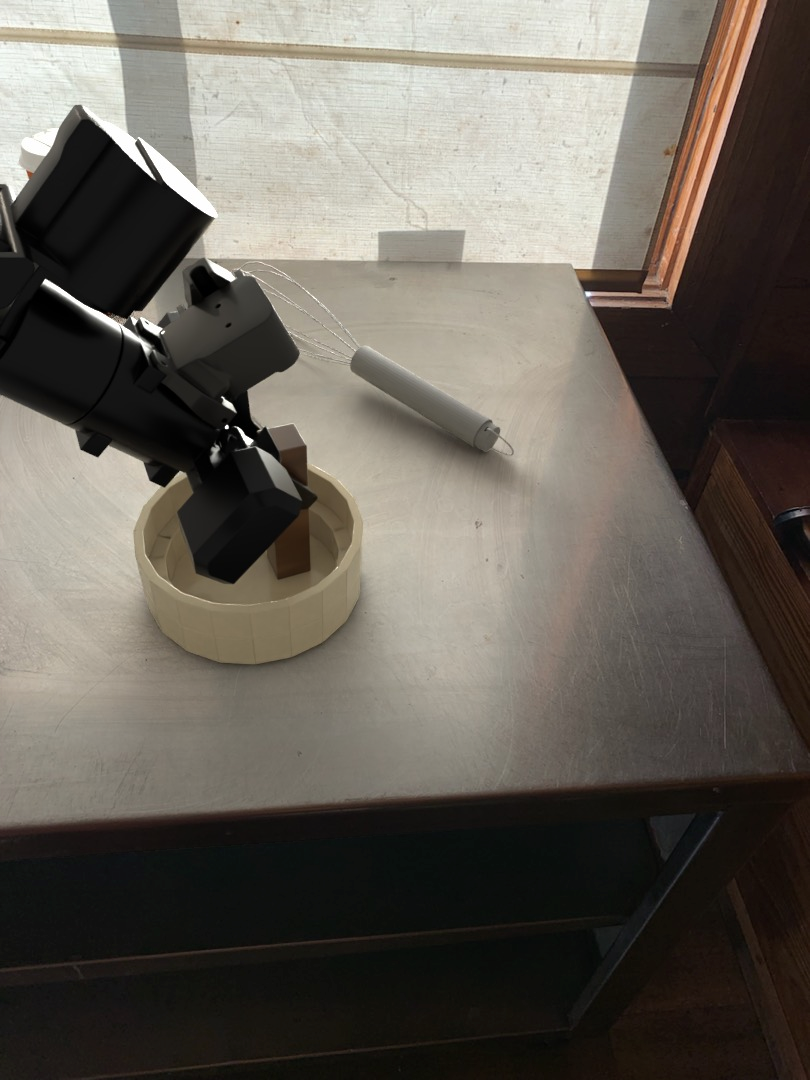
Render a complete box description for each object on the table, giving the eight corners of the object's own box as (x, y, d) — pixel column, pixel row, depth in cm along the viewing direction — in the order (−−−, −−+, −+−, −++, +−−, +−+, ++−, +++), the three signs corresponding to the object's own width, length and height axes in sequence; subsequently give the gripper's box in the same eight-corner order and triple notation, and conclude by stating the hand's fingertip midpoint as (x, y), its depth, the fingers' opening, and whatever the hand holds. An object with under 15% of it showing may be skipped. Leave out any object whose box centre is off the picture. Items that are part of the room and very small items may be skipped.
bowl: (156, 689, 47) (140, 632, 44) (142, 528, 57) (128, 470, 53) (383, 644, 51) (387, 588, 47) (335, 499, 60) (334, 443, 56)
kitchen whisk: (490, 481, 63) (502, 416, 59) (210, 325, 77) (203, 264, 73) (532, 447, 66) (546, 383, 62) (257, 304, 81) (252, 244, 76)
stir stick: (277, 580, 54) (267, 454, 46) (266, 556, 55) (255, 430, 47) (311, 571, 54) (307, 445, 47) (299, 547, 56) (294, 422, 48)
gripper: (244, 348, 31) (460, 492, 43) (146, 172, 43) (337, 322, 54) (80, 539, 34) (324, 626, 45) (31, 325, 46) (235, 437, 57)
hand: (305, 488), depth 50 cm, fingers closed on stir stick, 2 cm apart
